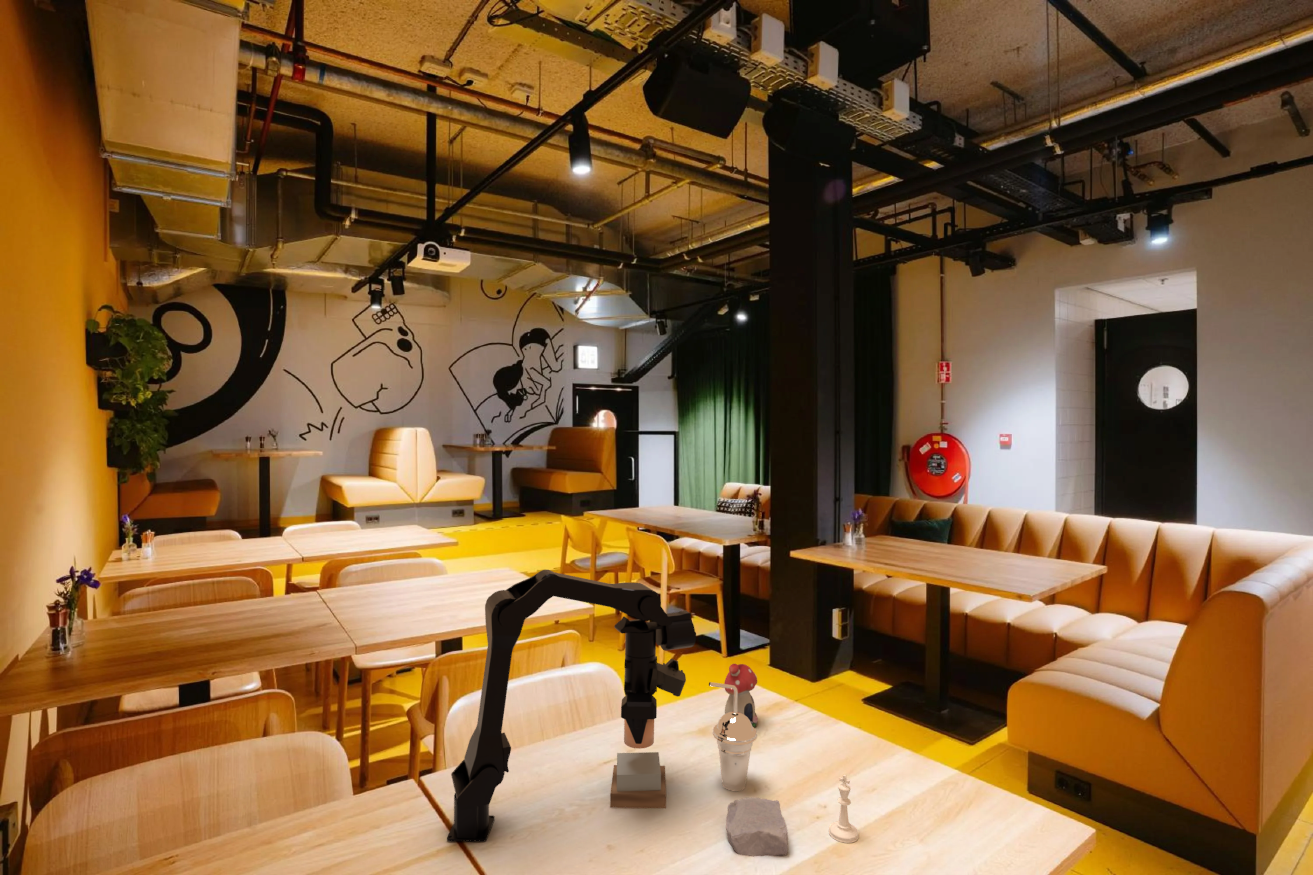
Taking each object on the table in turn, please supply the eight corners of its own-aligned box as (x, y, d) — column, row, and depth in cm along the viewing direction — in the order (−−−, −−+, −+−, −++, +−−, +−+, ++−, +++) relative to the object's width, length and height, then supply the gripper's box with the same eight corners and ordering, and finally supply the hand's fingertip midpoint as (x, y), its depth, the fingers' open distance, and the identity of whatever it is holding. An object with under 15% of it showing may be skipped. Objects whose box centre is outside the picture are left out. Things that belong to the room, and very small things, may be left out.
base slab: (665, 810, 118) (665, 794, 118) (610, 809, 118) (610, 793, 118) (664, 780, 128) (665, 765, 128) (613, 780, 128) (613, 764, 128)
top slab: (660, 790, 119) (660, 773, 119) (616, 791, 119) (616, 774, 119) (658, 767, 127) (658, 751, 127) (617, 768, 127) (617, 752, 127)
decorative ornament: (732, 735, 146) (733, 668, 146) (715, 723, 152) (716, 659, 152) (764, 725, 151) (766, 661, 151) (746, 715, 157) (747, 652, 156)
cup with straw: (751, 800, 121) (753, 692, 120) (704, 791, 124) (705, 685, 123) (759, 777, 129) (761, 676, 128) (714, 769, 132) (716, 670, 131)
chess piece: (835, 821, 115) (837, 764, 115) (863, 832, 112) (864, 774, 112) (823, 834, 111) (824, 776, 111) (851, 846, 108) (852, 786, 108)
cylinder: (653, 748, 120) (654, 724, 120) (623, 748, 120) (623, 723, 120) (653, 734, 126) (654, 710, 126) (624, 733, 126) (625, 710, 126)
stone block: (732, 868, 105) (794, 857, 105) (727, 838, 105) (788, 827, 105) (725, 825, 117) (781, 815, 117) (720, 799, 117) (775, 788, 117)
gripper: (686, 672, 113) (684, 761, 114) (681, 637, 132) (679, 714, 132) (621, 671, 113) (620, 760, 114) (625, 636, 132) (624, 713, 132)
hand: (638, 735), depth 123 cm, fingers closed on cylinder, 6 cm apart
